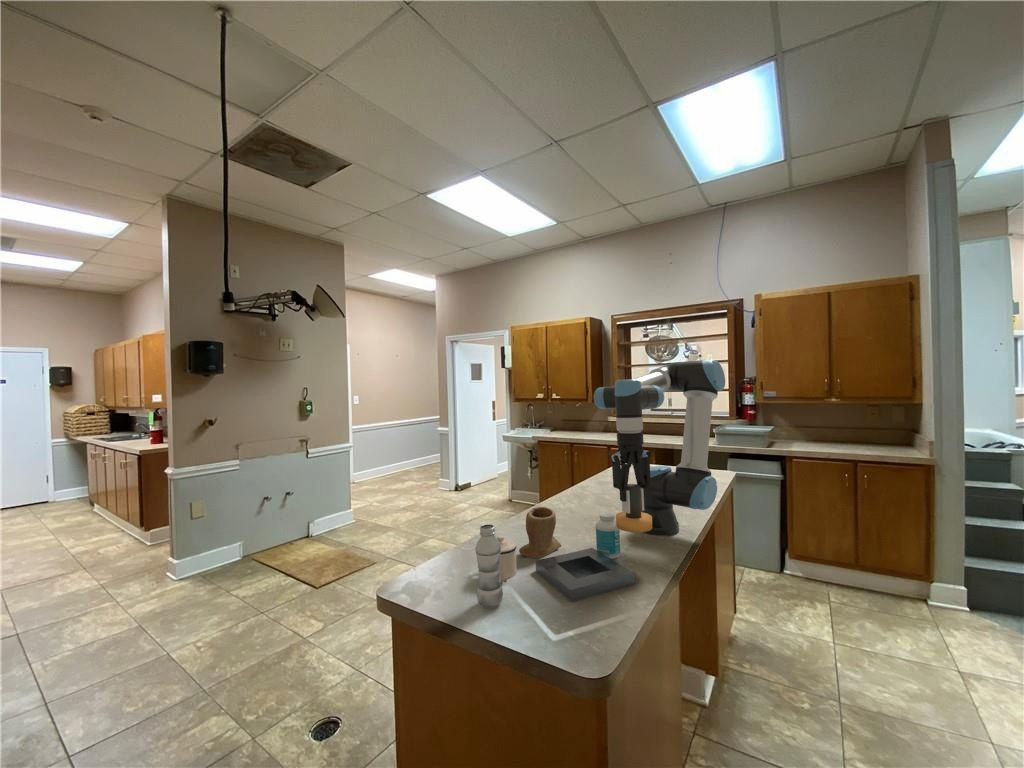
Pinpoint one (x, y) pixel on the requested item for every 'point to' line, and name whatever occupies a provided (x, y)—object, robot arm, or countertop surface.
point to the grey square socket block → (584, 574)
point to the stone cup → (540, 533)
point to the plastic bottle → (488, 568)
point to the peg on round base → (634, 514)
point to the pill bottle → (608, 536)
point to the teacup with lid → (507, 559)
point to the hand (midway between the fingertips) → (633, 510)
